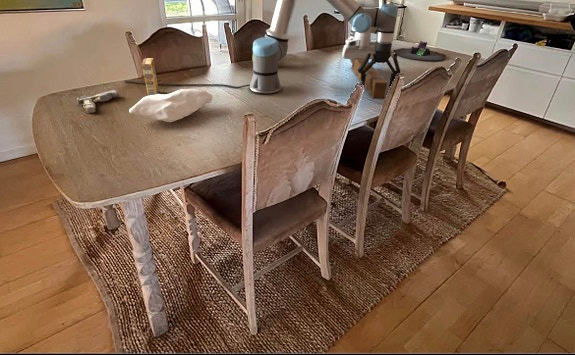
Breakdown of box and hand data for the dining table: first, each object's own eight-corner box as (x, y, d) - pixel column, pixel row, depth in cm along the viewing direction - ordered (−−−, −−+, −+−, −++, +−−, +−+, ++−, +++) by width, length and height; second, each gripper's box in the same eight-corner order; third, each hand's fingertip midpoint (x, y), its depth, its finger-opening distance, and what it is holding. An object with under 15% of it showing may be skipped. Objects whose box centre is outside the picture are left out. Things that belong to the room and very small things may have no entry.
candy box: (157, 97, 164) (152, 63, 155) (147, 98, 163) (141, 63, 155) (158, 91, 171) (153, 57, 163) (149, 91, 170) (143, 58, 162)
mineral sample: (456, 57, 245) (459, 42, 241) (423, 63, 228) (426, 48, 224) (414, 49, 270) (416, 36, 266) (381, 54, 253) (383, 40, 248)
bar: (384, 98, 174) (387, 82, 170) (372, 98, 174) (375, 82, 169) (360, 68, 217) (361, 54, 212) (350, 67, 216) (352, 54, 212)
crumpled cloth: (117, 110, 146) (113, 90, 140) (195, 92, 166) (194, 73, 160) (143, 139, 134) (140, 118, 128) (223, 116, 154) (224, 96, 148)
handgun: (128, 97, 156) (111, 87, 164) (86, 107, 144) (70, 97, 152) (129, 103, 157) (113, 94, 165) (88, 114, 146) (72, 103, 154)
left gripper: (407, 40, 170) (398, 84, 181) (355, 39, 168) (349, 84, 180) (413, 44, 164) (403, 90, 175) (358, 43, 162) (352, 89, 173)
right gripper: (378, 40, 206) (374, 65, 213) (343, 39, 204) (340, 64, 212) (381, 43, 200) (377, 68, 208) (345, 42, 199) (342, 67, 206)
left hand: (376, 87), depth 177 cm, fingers open, 13 cm apart
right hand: (358, 66), depth 210 cm, fingers closed on bar, 5 cm apart
